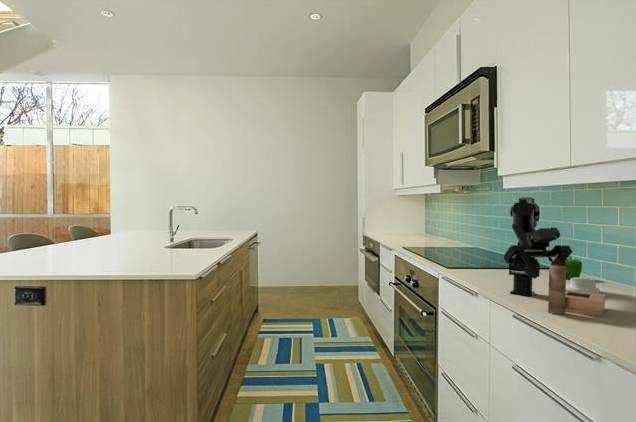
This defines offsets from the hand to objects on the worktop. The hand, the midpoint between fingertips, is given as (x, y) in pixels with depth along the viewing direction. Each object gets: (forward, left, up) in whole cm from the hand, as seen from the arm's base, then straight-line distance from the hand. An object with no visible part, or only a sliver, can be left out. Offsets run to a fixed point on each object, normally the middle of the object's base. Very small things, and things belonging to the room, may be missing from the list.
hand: (550, 277), depth 115 cm
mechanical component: (-39, +4, -10) cm, 40 cm away
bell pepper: (-63, -3, -10) cm, 63 cm away
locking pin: (+1, +2, -9) cm, 10 cm away
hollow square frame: (-9, +6, -9) cm, 14 cm away
